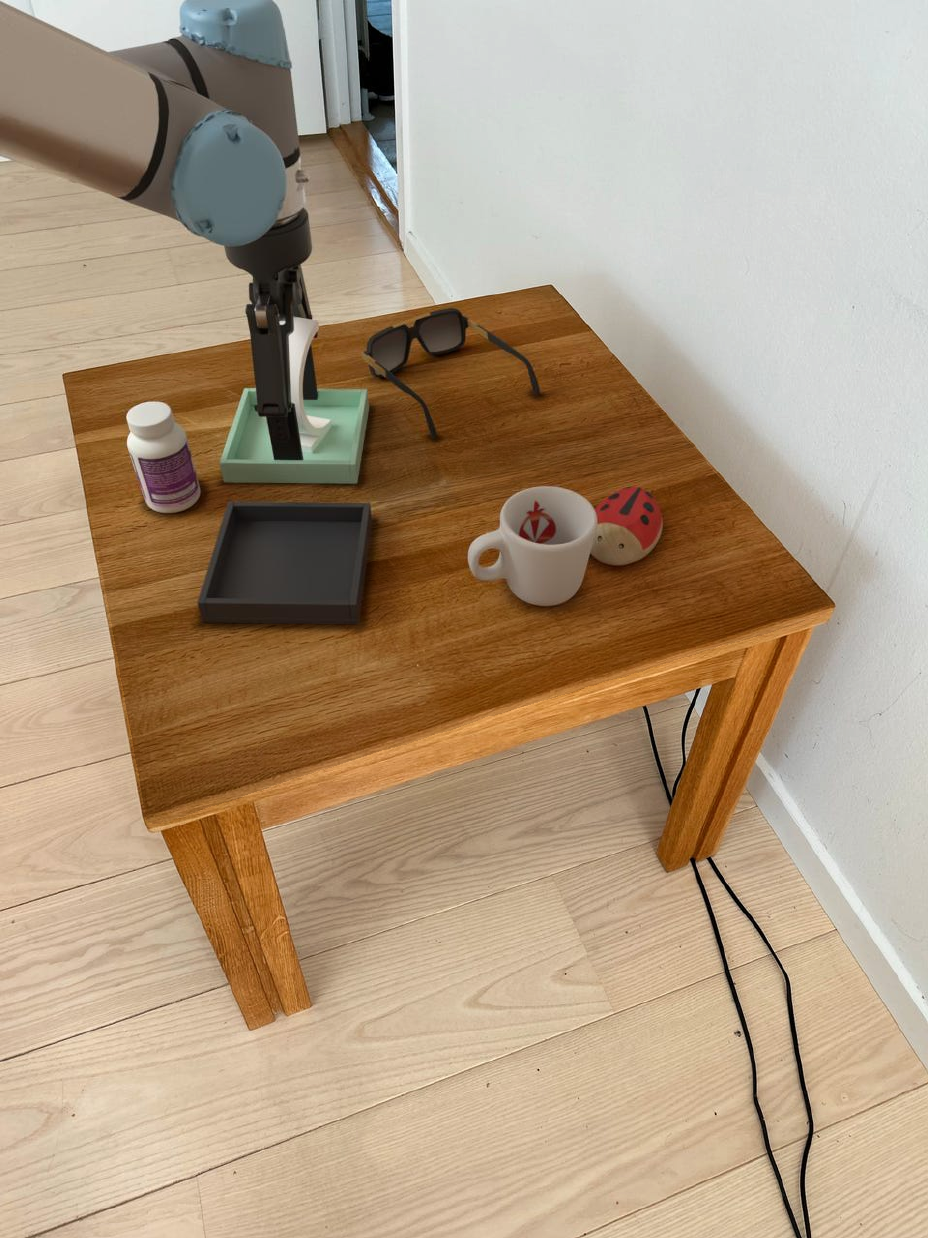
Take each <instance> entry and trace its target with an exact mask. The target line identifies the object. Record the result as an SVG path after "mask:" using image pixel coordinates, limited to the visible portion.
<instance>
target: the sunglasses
mask: <svg viewBox="0 0 928 1238" xmlns="http://www.w3.org/2000/svg"><path fill="white" fill-rule="evenodd" d="M412 322H414V323H413V326H411V327H409V326H408V325H407V324H409V323H412ZM468 328H470V329H471V330H472V331H474V332H476V333H477V334H478V335H480V336H482V337H483V338H484V339H486V340H488V341H489V342H491V343H492V344H493V345H495V346H496V347H498V348H500V349H501V350H503V351H504V352H506V353H508V354H510V355H513V357H516V358H517V359H518V360H520V361H521V362H523V363H524V365H525V366H526V369H527V373H528V377H529V380H530V385H531V388H532V393H533V394H534V396H535V397H538V396H539V395H540V392H541V391H540V390H541V389H540V385H539V382H538V379H537V376H536V374H535V371H534V368H533V367H532V364H531V362H530V361H529V359H528V358H527V357H525V356H524V355H523V354H522V353H520V352H519V351H518V350H516V349H515V348H513V347H512V346H511V345H510V344H508V343H507V342H506V341H504V340H502V339H500V338H499V337H498V336H496V335H495V334H494V333H492V332H490V331H489V330H488V329H486V328H484V327H483V326H482V325H480V324H479V323H476V322H474V321H473V320H472V319H470V318H469V317H467V316H466V315H463V314H462V312H461V311H460V310H459V309H458V308H455V307H447V308H442V309H437V310H433V311H430V312H425V313H423V314H419V315H417V316H414V317H411V318H408V319H405V320H402V321H399V322H397V323H394V324H391V325H390V326H388V327H385V328H384V329H381V330H379V331H378V332H376V333H374V334H373V335H372V336H370V337H369V339H368V340H367V343H366V349H365V350H363V351H360V356H361V359H362V360H363V361H364V362H365V363H366V364H367V365H368V369H369V371H370V374H371V375H372V376H373V377H376V378H385V379H386V380H388V381H389V382H391V384H393V385H394V386H396V387H397V388H398V389H400V390H401V391H402V392H404V393H405V394H406V395H407V394H408V395H409V396H410V397H412V398H413V399H414V400H415V401H416V402H418V403H419V404H420V406H421V408H422V411H423V414H424V417H425V420H426V424H427V428H428V431H429V434H430V436H431V438H432V439H434V440H435V439H436V438H437V429H436V426H435V423H434V420H433V417H432V415H431V413H430V409H429V408H428V405H427V403H426V402H425V400H424V399H423V398H421V397H420V396H419V394H417V393H416V392H415V391H414V390H412V389H411V388H410V387H409V386H408V385H406V383H404V382H403V380H402V381H401V379H399V378H398V377H397V376H396V375H394V373H395V372H397V371H399V370H400V369H401V368H403V367H405V365H406V364H407V362H408V359H409V357H410V356H409V355H410V353H411V352H410V351H411V348H412V347H411V346H412V343H413V340H414V339H416V340H417V341H418V343H419V344H420V346H421V347H422V349H423V350H424V351H425V352H426V353H427V354H430V355H434V356H436V355H437V356H438V355H443V354H448V353H451V352H455V351H456V350H459V349H460V348H462V347H463V346H464V345H465V342H466V340H467V339H466V336H467V332H466V331H467V330H466V329H468Z"/></svg>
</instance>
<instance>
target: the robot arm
mask: <svg viewBox="0 0 928 1238" xmlns="http://www.w3.org/2000/svg"><path fill="white" fill-rule="evenodd" d="M179 23H180V25H179V33H180V34H181V35H180V36H176V37H172V38H169V39H167V40H164V41H160V42H155V43H149V44H144V45H138V46H133V47H127V48H123V49H118V50H112V51H106V50H105V49H102V48H100V47H98V46H96V45H94V44H93V43H90V42H88V41H85V40H84V39H81V38H80V37H77V36H75V35H74V34H71V33H69V32H67V31H64V30H62V29H61V28H58V27H56V26H54V25H52V24H50V23H48V22H46V21H43V20H41V19H39V18H37V17H35V16H33V15H31V14H29V13H27V12H25V11H24V10H20V9H18V8H16V7H14V6H13V5H10V4H8V3H6V2H4V1H1V0H0V157H1V158H5V159H7V160H10V161H13V162H16V163H18V164H22V165H25V166H28V167H29V168H30V167H31V168H33V169H36V170H39V171H42V172H44V173H48V174H50V175H53V176H56V177H59V178H62V179H65V180H67V181H68V182H71V183H73V184H80V185H81V186H85V187H87V188H91V189H93V190H96V191H98V192H102V193H105V194H108V195H110V196H112V197H114V198H117V199H120V200H122V201H124V202H126V203H129V204H132V205H134V206H137V207H140V208H143V209H146V210H149V211H151V212H154V213H156V214H159V215H163V216H165V217H168V218H171V219H173V220H174V221H177V222H179V223H181V225H183V226H184V228H186V230H187V231H188V232H190V234H193V235H194V236H198V237H202V238H204V239H206V240H208V241H209V242H212V243H213V244H216V245H219V246H223V248H224V252H225V256H226V259H227V260H228V261H229V263H230V264H231V265H233V266H234V268H237V269H239V270H242V271H245V272H246V273H248V274H249V275H251V276H252V281H251V282H249V283H248V299H249V302H250V303H247V304H246V305H245V310H244V312H245V315H246V319H247V325H248V329H249V337H250V346H251V354H252V355H251V356H252V357H251V358H252V366H253V376H254V386H256V396H257V405H254V408H255V411H256V412H258V415H259V417H266V419H267V425H268V430H269V435H270V441H271V446H272V452H273V457H274V460H303V454H302V447H301V441H300V435H299V428H298V422H297V416H296V409H295V403H292V402H291V385H290V357H289V335H290V334H291V333H293V331H294V317H299V318H305V319H311V320H313V314H312V311H311V305H310V302H309V296H308V292H307V287H306V282H305V278H304V274H303V268H302V264H304V263H305V262H306V261H307V260H308V259H309V258H310V256H311V255H312V251H313V242H312V233H311V225H310V217H309V212H308V211H307V209H306V208H305V206H306V203H307V198H306V190H305V184H306V183H308V182H310V180H311V173H310V171H309V170H308V169H305V168H304V169H301V163H302V159H301V149H300V138H299V130H298V122H297V112H296V105H295V97H294V88H293V87H294V86H293V79H292V70H291V69H293V63H292V61H291V57H290V52H289V51H290V50H289V46H288V41H287V34H286V30H285V26H284V20H283V16H282V13H281V10H280V7H279V6H278V4H277V3H276V2H275V1H274V0H184V1H183V2H182V3H181V5H180V7H179ZM279 321H285V324H283V325H280V323H279ZM318 331H319V330H318ZM318 331H317V332H316V334H315V336H314V338H313V339H317V338H318ZM317 389H318V383H317V377H316V369H315V362H314V354H313V347H312V343H311V344H310V347H309V350H308V353H307V357H306V361H305V367H304V374H303V400H317V399H318V391H317Z"/></svg>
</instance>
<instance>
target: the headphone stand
mask: <svg viewBox="0 0 928 1238" xmlns="http://www.w3.org/2000/svg"><path fill="white" fill-rule="evenodd" d="M279 323H280V325H283V324H285V321H279ZM319 329H320V325H319V320H316V319H312V320H311V319H305V318H299V317H294V331H293V333H291V334H290V335H289V357H290V385H291V402H292V403H295V409H296V416H297V422H298V428H299V435H300V441H301V447H302V452H306V453H313V452H314V450H315V449H316V447H317V446H318V445H319V443H320V442H321V440H322V439H323V438H324V436H325V435H326V434H327V432H328V431H329V429H330V428H331V427H332V426H331V420H329V419H324V418H318V417H313V416H308V415H306V412H305V408H304V403H303V374H304V367H305V361H306V357H307V353H308V350H309V347H310V344H311V345H312V342H313V340H314V339H315V338H314V336H315V334H316V332H317V331H319ZM254 386H255V385H254ZM254 388H255V389H256V386H255V387H254ZM256 397H257V396H256ZM263 419H264V421H265V422H266V423H267V419H266V417H263ZM270 442H271V441H270Z"/></svg>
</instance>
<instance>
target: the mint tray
mask: <svg viewBox="0 0 928 1238" xmlns="http://www.w3.org/2000/svg"><path fill="white" fill-rule="evenodd" d="M317 391H318V399H317V400H303V403H304V408H305V412H306V415H308V416H313V417H318V418H324V419H329V420H331V426H332V427H331V428H330V429H329V431H328V432H327V434H326V435H325V436H324V438H323V439H322V440H321V442H320V443H319V445H318V446H317V447H316V449H315V450H314V452H313V453H306V452H302V454H303V460H274V457H273V452H272V446H271V442H270V435H269V430H268V425H267V423H266V422H265V421H264V419H263V417H259V415H258V412H256V411H255V408H254V405H257V397H256V389H255V387H245V388H243V391H242V394H241V397H240V400H239V402H238V407H237V409H236V412H235V414H234V419H233V421H232V424H231V427H230V430H229V433H228V436H227V439H226V442H225V445H224V448H223V451H222V454H221V457H220V460H219V468H220V471H221V475H222V480H223V483H237V484H239V483H240V484H241V483H242V484H243V483H246V484H248V483H249V484H250V483H251V484H258V483H259V484H260V483H261V484H335V485H336V484H337V485H338V484H339V485H340V484H343V485H345V484H346V485H347V484H350V485H351V484H352V485H354V484H355V485H357V484H358V482H359V474H360V468H361V463H362V462H361V461H362V455H363V449H364V443H365V438H366V431H367V426H368V425H367V424H368V418H369V411H370V402H369V391H368V389H367V388H317Z"/></svg>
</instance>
